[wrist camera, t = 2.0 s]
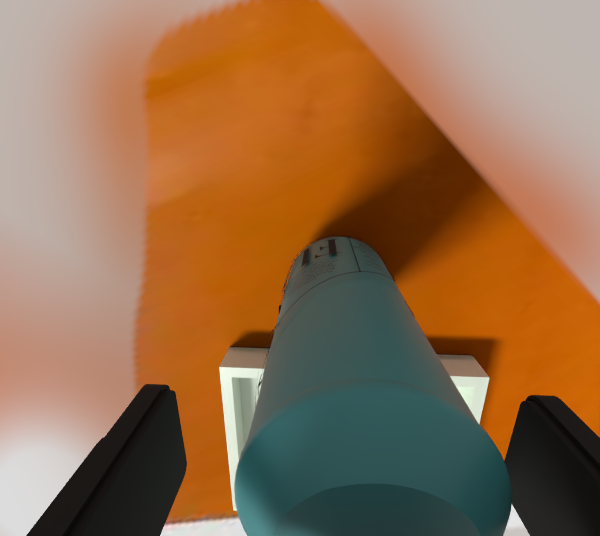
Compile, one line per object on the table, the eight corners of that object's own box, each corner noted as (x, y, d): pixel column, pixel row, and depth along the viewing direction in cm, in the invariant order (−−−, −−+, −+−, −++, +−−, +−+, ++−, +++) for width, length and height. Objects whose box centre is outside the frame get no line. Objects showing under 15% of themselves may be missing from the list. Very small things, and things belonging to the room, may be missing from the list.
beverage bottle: (336, 206, 20) (533, 808, 1) (406, 275, 21) (1036, 1122, 3) (270, 275, 22) (-44, 944, 3) (337, 334, 23) (402, 1091, 4)
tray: (472, 355, 23) (489, 377, 21) (445, 494, 27) (456, 525, 25) (229, 347, 24) (219, 367, 22) (240, 481, 29) (233, 510, 26)
